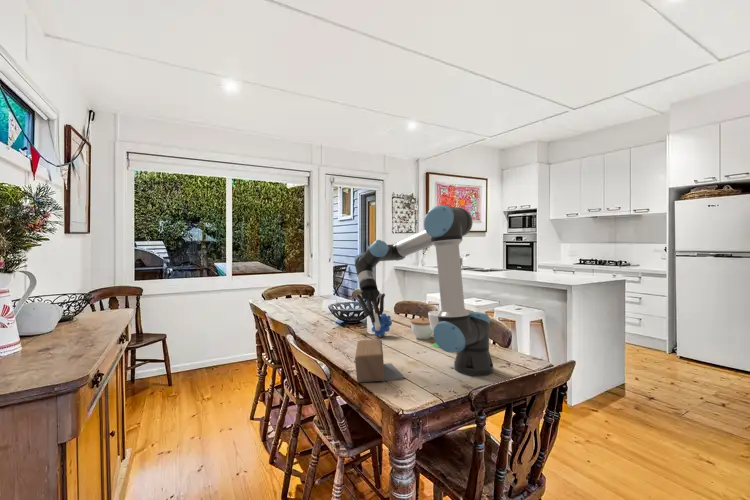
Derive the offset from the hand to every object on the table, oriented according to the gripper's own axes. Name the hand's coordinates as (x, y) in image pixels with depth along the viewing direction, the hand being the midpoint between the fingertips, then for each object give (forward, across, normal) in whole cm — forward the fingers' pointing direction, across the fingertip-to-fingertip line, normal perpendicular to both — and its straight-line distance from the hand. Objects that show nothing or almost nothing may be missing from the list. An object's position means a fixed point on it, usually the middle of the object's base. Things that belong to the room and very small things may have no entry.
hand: (378, 328), depth 150 cm
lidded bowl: (-15, -36, -37) cm, 54 cm away
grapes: (-22, -16, -44) cm, 52 cm away
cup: (-4, -39, -26) cm, 47 cm away
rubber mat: (+16, -1, -6) cm, 17 cm away
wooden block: (+5, +2, -9) cm, 11 cm away
